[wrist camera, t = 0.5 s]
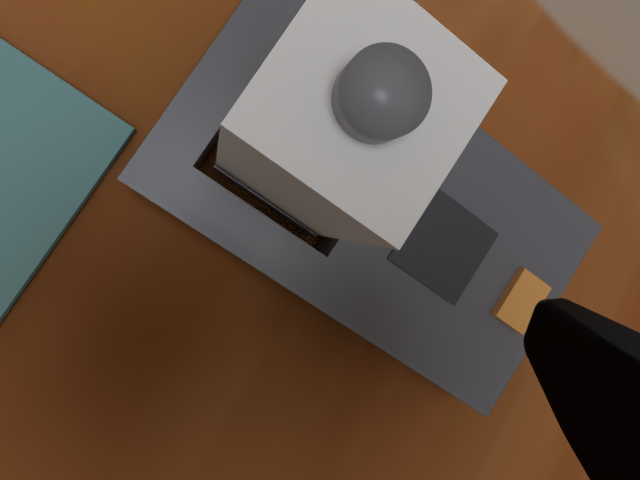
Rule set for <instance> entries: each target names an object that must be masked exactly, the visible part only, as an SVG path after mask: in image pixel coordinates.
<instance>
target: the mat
mask: <svg viewBox="0 0 640 480" xmlns="http://www.w3.org/2000/svg"><path fill="white" fill-rule="evenodd" d="M135 132H136V130H135V129H134V128H133V127H132V126H130V125H129V124H127V123H126V122H124V121H123V120H121V119H120V118H118V117H117V116H115V115H114V114H112V113H111V112H109V111H108V110H106V109H105V108H103V107H102V106H100V105H99V104H97V103H96V102H95V101H93V100H92V99H90V98H89V97H87V96H86V95H84V94H83V93H81V92H80V91H78V90H77V89H75V88H74V87H72V86H71V85H69V84H68V83H66V82H65V81H63V80H62V79H60V78H59V77H57V76H56V75H54V74H53V73H51V72H50V71H49V70H47V69H46V68H44V67H43V66H41V65H40V64H38V63H37V62H35V61H34V60H32V59H31V58H29V57H28V56H26V55H25V54H23V53H22V52H20V51H19V50H17V49H16V48H14V47H13V46H11V45H10V44H8V43H7V42H5V41H4V40H3V39H1V38H0V323H1V322H2V320H3V319H4V318H5V316H6V315H7V313H8V312H9V310H10V309H11V308H12V306H13V305H14V303H15V302H16V301H17V299H18V298H19V296H20V295H21V293H22V292H23V291H24V289H25V288H26V286H27V285H28V284H29V282H30V281H31V279H32V278H33V277H34V275H35V274H36V272H37V271H38V269H39V268H40V267H41V265H42V264H43V262H44V261H45V260H46V258H47V257H48V255H49V254H50V252H51V251H52V250H53V248H54V247H55V245H56V244H57V243H58V241H59V240H60V238H61V237H62V235H63V234H64V233H65V231H66V230H67V228H68V227H69V226H70V224H71V223H72V221H73V220H74V218H75V217H76V216H77V214H78V213H79V211H80V210H81V209H82V207H83V206H84V204H85V203H86V202H87V200H88V199H89V197H90V196H91V194H92V193H93V192H94V190H95V189H96V187H97V186H98V185H99V183H100V182H101V180H102V179H103V177H104V176H105V175H106V173H107V172H108V170H109V169H110V168H111V166H112V165H113V163H114V162H115V160H116V159H117V158H118V156H119V155H120V153H121V152H122V151H123V149H124V148H125V146H126V145H127V143H128V142H129V141H130V139H131V138H132V136H133V135H134V134H135Z"/></svg>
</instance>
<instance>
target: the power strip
mask: <svg viewBox="0 0 640 480" xmlns="http://www.w3.org/2000/svg"><path fill="white" fill-rule="evenodd" d="M305 1H306V0H243V1H242V2H241V3H240V5H239V6H238V8H237V9H236V11H235V12H234V13H233V15H232V16H231V18H230V19H229V21H228V22H227V23H226V25H225V26H224V28H223V29H222V30H221V32H220V33H219V35H218V36H217V38H216V39H215V40H214V42H213V43H212V45H211V46H210V48H209V49H208V50H207V52H206V53H205V55H204V56H203V57H202V59H201V60H200V62H199V63H198V65H197V66H196V67H195V69H194V70H193V72H192V73H191V75H190V76H189V77H188V79H187V80H186V82H185V83H184V84H183V86H182V87H181V89H180V90H179V92H178V93H177V94H176V96H175V97H174V99H173V100H172V102H171V103H170V104H169V106H168V107H167V109H166V110H165V111H164V113H163V114H162V116H161V117H160V119H159V120H158V121H157V123H156V124H155V126H154V127H153V129H152V130H151V131H150V133H149V134H148V136H147V137H146V138H145V140H144V141H143V143H142V144H141V146H140V147H139V148H138V150H137V151H136V153H135V154H134V156H133V157H132V158H131V160H130V161H129V163H128V164H127V165H126V167H125V168H124V170H123V171H122V173H121V174H120V175H119V177H118V178H117V179H118V180H119V181H121V182H122V183H124V184H126V185H127V186H129V187H130V188H132V189H133V190H135V191H136V192H138V193H140V194H141V195H143V196H144V197H146V198H147V199H149V200H150V201H152V202H153V203H155V204H157V205H158V206H160V207H161V208H163V209H164V210H166V211H167V212H169V213H171V214H172V215H174V216H175V217H177V218H178V219H180V220H181V221H183V222H185V223H186V224H188V225H189V226H191V227H192V228H194V229H195V230H197V231H198V232H200V233H202V234H203V235H205V236H206V237H208V238H209V239H211V240H212V241H214V242H216V243H217V244H219V245H220V246H222V247H223V248H225V249H226V250H228V251H230V252H231V253H233V254H234V255H236V256H237V257H239V258H240V259H242V260H243V261H245V262H247V263H248V264H250V265H251V266H253V267H254V268H256V269H257V270H259V271H261V272H262V273H264V274H265V275H267V276H268V277H270V278H271V279H273V280H275V281H276V282H278V283H279V284H281V285H282V286H284V287H285V288H287V289H288V290H290V291H292V292H293V293H295V294H296V295H298V296H299V297H301V298H302V299H304V300H306V301H307V302H309V303H310V304H312V305H313V306H315V307H316V308H318V309H320V310H321V311H323V312H324V313H326V314H327V315H329V316H330V317H332V318H333V319H335V320H337V321H338V322H340V323H341V324H343V325H344V326H346V327H347V328H349V329H351V330H352V331H354V332H355V333H357V334H358V335H360V336H361V337H363V338H365V339H366V340H368V341H369V342H371V343H372V344H374V345H375V346H377V347H378V348H380V349H382V350H383V351H385V352H386V353H388V354H389V355H391V356H392V357H394V358H396V359H397V360H399V361H400V362H402V363H403V364H405V365H406V366H408V367H410V368H411V369H413V370H414V371H416V372H417V373H419V374H420V375H422V376H423V377H425V378H427V379H428V380H430V381H431V382H433V383H434V384H436V385H437V386H439V387H441V388H442V389H444V390H445V391H447V392H448V393H450V394H451V395H453V396H455V397H456V398H458V399H459V400H461V401H462V402H464V403H465V404H467V405H468V406H470V407H472V408H473V409H475V410H476V411H478V412H479V413H481V414H482V415H484V416H486V417H488V415H489V414H490V412H491V410H492V409H493V407H494V405H495V404H496V402H497V400H498V399H499V397H500V395H501V394H502V392H503V390H504V389H505V387H506V385H507V384H508V382H509V380H510V379H511V377H512V375H513V374H514V372H515V371H516V369H517V367H518V366H519V364H520V362H521V361H522V359H523V357H524V356H525V354H526V352H525V349H524V343H523V341H524V335H525V332H526V329H527V327H528V324H529V321H530V319H531V316H532V313H533V310H534V308H535V306H536V304H537V303H538V302H539V301H541V300H543V299H554V298H560V296H561V294H562V293H563V291H564V289H565V288H566V286H567V284H568V283H569V281H570V279H571V278H572V276H573V274H574V273H575V271H576V269H577V268H578V266H579V264H580V263H581V261H582V259H583V258H584V256H585V254H586V253H587V251H588V249H589V248H590V246H591V244H592V243H593V241H594V239H595V238H596V236H597V235H598V233H599V231H600V230H601V228H602V226H601V225H600V224H599V223H598V222H596V221H595V220H594V219H593V218H591V217H590V216H589V215H588V214H587V213H585V212H584V211H583V210H582V209H580V208H579V207H578V206H577V205H575V204H574V203H573V202H572V201H570V200H569V199H568V198H567V197H565V196H564V195H563V194H562V193H560V192H559V191H558V190H557V189H556V188H554V187H553V186H552V185H551V184H549V183H548V182H547V181H546V180H544V179H543V178H542V177H541V176H539V175H538V174H537V173H536V172H534V171H533V170H532V169H531V168H529V167H528V166H527V165H526V164H525V163H523V162H522V161H521V160H520V159H518V158H517V157H516V156H515V155H513V154H512V153H511V152H510V151H508V150H507V149H506V148H505V147H503V146H502V145H501V144H500V143H498V142H497V141H496V140H495V139H494V138H492V137H491V136H490V135H489V134H487V133H486V132H485V131H484V130H482V129H481V128H480V127H479V126H478V128H477V130H476V131H475V133H474V134H473V136H472V137H471V139H470V141H469V142H468V144H467V145H466V147H465V148H464V150H463V151H462V153H461V155H460V156H459V158H458V159H457V161H456V162H455V164H454V166H453V167H452V169H451V170H450V172H449V173H448V175H447V177H446V178H445V180H444V181H443V183H442V184H441V186H440V187H439V189H438V191H437V192H436V194H435V195H434V197H433V198H432V200H431V202H430V203H429V205H428V206H427V208H426V209H425V211H424V212H423V214H422V216H421V217H420V219H419V220H418V222H417V223H416V225H415V227H414V228H413V230H412V231H411V233H410V234H409V236H408V238H407V239H406V241H405V242H404V244H403V245H402V247H401V248H400V250H395V249H390V248H384V247H379V246H373V245H368V244H363V243H357V242H352V241H346V240H341V239H336V238H330V237H325V236H322V238H321V239H320V241H319V242H318V244H317V245H316V247H315V248H313V247H312V246H310V245H309V244H307V243H306V242H304V241H303V240H301V239H300V238H298V237H297V236H295V235H294V234H292V233H291V232H289V231H288V230H286V229H285V228H283V227H282V226H280V225H279V224H277V223H276V222H275V221H273V220H272V219H270V218H269V217H267V216H266V215H264V214H263V213H261V212H260V211H258V210H257V209H255V208H254V207H252V206H251V205H249V204H248V203H246V202H245V201H243V200H242V199H240V198H239V197H237V196H236V195H234V194H233V193H232V192H230V191H229V190H227V189H226V188H224V187H223V186H221V185H220V184H218V183H217V182H215V181H214V180H212V179H211V178H209V177H208V176H206V175H205V174H203V173H202V172H200V171H199V170H197V169H198V168H199V166H200V165H201V164H202V162H203V161H204V159H205V158H206V156H207V155H208V153H209V152H210V150H211V149H212V148H213V146H214V145H215V143H216V142H217V140H218V139H219V132H220V124H221V123H222V121H223V120H224V118H225V117H226V116H227V114H228V113H229V111H230V110H231V108H232V107H233V105H234V104H235V103H236V101H237V100H238V98H239V97H240V95H241V94H242V92H243V91H244V89H245V88H246V87H247V85H248V84H249V82H250V81H251V79H252V78H253V76H254V75H255V74H256V72H257V71H258V69H259V68H260V66H261V65H262V63H263V62H264V61H265V59H266V58H267V56H268V55H269V53H270V52H271V50H272V49H273V48H274V46H275V45H276V43H277V42H278V40H279V39H280V37H281V36H282V34H283V33H284V32H285V30H286V29H287V27H288V26H289V24H290V23H291V21H292V20H293V19H294V17H295V16H296V14H297V13H298V11H299V10H300V8H301V7H302V6H303V4H304V3H305Z"/></svg>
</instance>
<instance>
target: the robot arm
mask: <svg viewBox="0 0 640 480" xmlns="http://www.w3.org/2000/svg"><path fill="white" fill-rule="evenodd" d="M523 343H524V349H525V352H526V355H527V357H528V359H529V361H530V363H531V365H532V368H533V370H534V372H535V374H536V376H537V378H538V380H539V383H540V385H541V387H542V389H543V391H544V393H545V396H546V398H547V400H548V402H549V404H550V406H551V408H552V411H553V413H554V415H555V417H556V419H557V421H558V423H559V425H560V427H561V429H562V431H563V433H564V435H565V437H566V439H567V441H568V442H569V444H570V446H571V448H572V449H573V451H574V453H575V455H576V456H577V458H578V460H579V461H580V463H581V465H582V467H583V468H584V470H585V472H586V473H587V475H588V477H589V479H590V480H640V333H639V332H637V331H634V330H632V329H630V328H628V327H626V326H624V325H621V324H619V323H617V322H615V321H613V320H611V319H608V318H606V317H604V316H602V315H600V314H598V313H595V312H593V311H591V310H589V309H587V308H585V307H582V306H580V305H578V304H576V303H574V302H572V301H570V300H567V299H563V298H554V299H543V300H541V301H539V302H538V303H537V304H536V306H535V308H534V310H533V313H532V316H531V319H530V321H529V324H528V327H527V329H526V332H525V335H524V341H523Z"/></svg>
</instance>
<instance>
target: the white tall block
mask: <svg viewBox="0 0 640 480" xmlns="http://www.w3.org/2000/svg"><path fill="white" fill-rule="evenodd" d="M507 81H508V80H507V79H506V78H504V77H503V76H502V75H501V74H500V73H498V72H497V71H496V70H495V69H494V68H493V67H491V66H490V65H489V64H488V63H487V62H486V61H484V60H483V59H482V58H481V57H480V56H478V55H477V54H476V53H475V52H474V51H473V50H471V49H470V48H469V47H468V46H467V45H465V44H464V43H463V42H462V41H461V40H460V39H458V38H457V37H456V36H455V35H454V34H452V33H451V32H450V31H449V30H448V29H447V28H445V27H444V26H443V25H442V24H441V23H439V22H438V21H437V20H436V19H435V18H434V17H432V16H431V15H430V14H429V13H428V12H426V11H425V10H424V9H423V8H422V7H421V6H419V5H418V4H417V3H416V2H415V1H414V0H306V1H305V3H304V4H303V6H302V7H301V8H300V10H299V11H298V13H297V14H296V16H295V17H294V19H293V20H292V21H291V23H290V24H289V26H288V27H287V29H286V30H285V32H284V33H283V34H282V36H281V37H280V39H279V40H278V42H277V43H276V45H275V46H274V48H273V49H272V50H271V52H270V53H269V55H268V56H267V58H266V59H265V61H264V62H263V63H262V65H261V66H260V68H259V69H258V71H257V72H256V74H255V75H254V76H253V78H252V79H251V81H250V82H249V84H248V85H247V87H246V88H245V89H244V91H243V92H242V94H241V95H240V97H239V98H238V100H237V101H236V103H235V104H234V105H233V107H232V108H231V110H230V111H229V113H228V114H227V116H226V117H225V118H224V120H223V121H222V123H221V124H220V132H219V140H218V148H217V156H216V163H215V165H214V166H213V170H214V171H215V172H217V173H218V174H220V175H221V176H223V177H224V178H226V179H227V180H229V181H230V182H232V183H233V184H235V185H236V186H237V187H239V188H240V189H242V190H243V191H245V192H246V193H248V194H249V195H251V196H252V197H254V198H255V199H257V200H258V201H260V202H261V203H263V204H264V205H265V206H267V207H268V208H270V209H271V210H273V211H274V212H276V213H277V214H279V215H280V216H282V217H283V218H285V219H286V220H288V221H289V222H290V223H292V224H293V225H295V226H296V227H298V228H299V229H301V230H302V231H304V232H305V233H307V234H308V235H311V236H317V235H319V236H325V237H330V238H336V239H341V240H346V241H352V242H357V243H363V244H368V245H373V246H379V247H384V248H390V249H395V250H400V248H401V247H402V245H403V244H404V242H405V241H406V239H407V238H408V236H409V234H410V233H411V231H412V230H413V228H414V227H415V225H416V223H417V222H418V220H419V219H420V217H421V216H422V214H423V212H424V211H425V209H426V208H427V206H428V205H429V203H430V202H431V200H432V198H433V197H434V195H435V194H436V192H437V191H438V189H439V187H440V186H441V184H442V183H443V181H444V180H445V178H446V177H447V175H448V173H449V172H450V170H451V169H452V167H453V166H454V164H455V162H456V161H457V159H458V158H459V156H460V155H461V153H462V151H463V150H464V148H465V147H466V145H467V144H468V142H469V141H470V139H471V137H472V136H473V134H474V133H475V131H476V130H477V128H478V126H479V125H480V123H481V122H482V120H483V119H484V117H485V115H486V114H487V112H488V111H489V109H490V108H491V106H492V105H493V103H494V101H495V100H496V98H497V97H498V95H499V94H500V92H501V90H502V89H503V87H504V86H505V84H506V83H507Z"/></svg>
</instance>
